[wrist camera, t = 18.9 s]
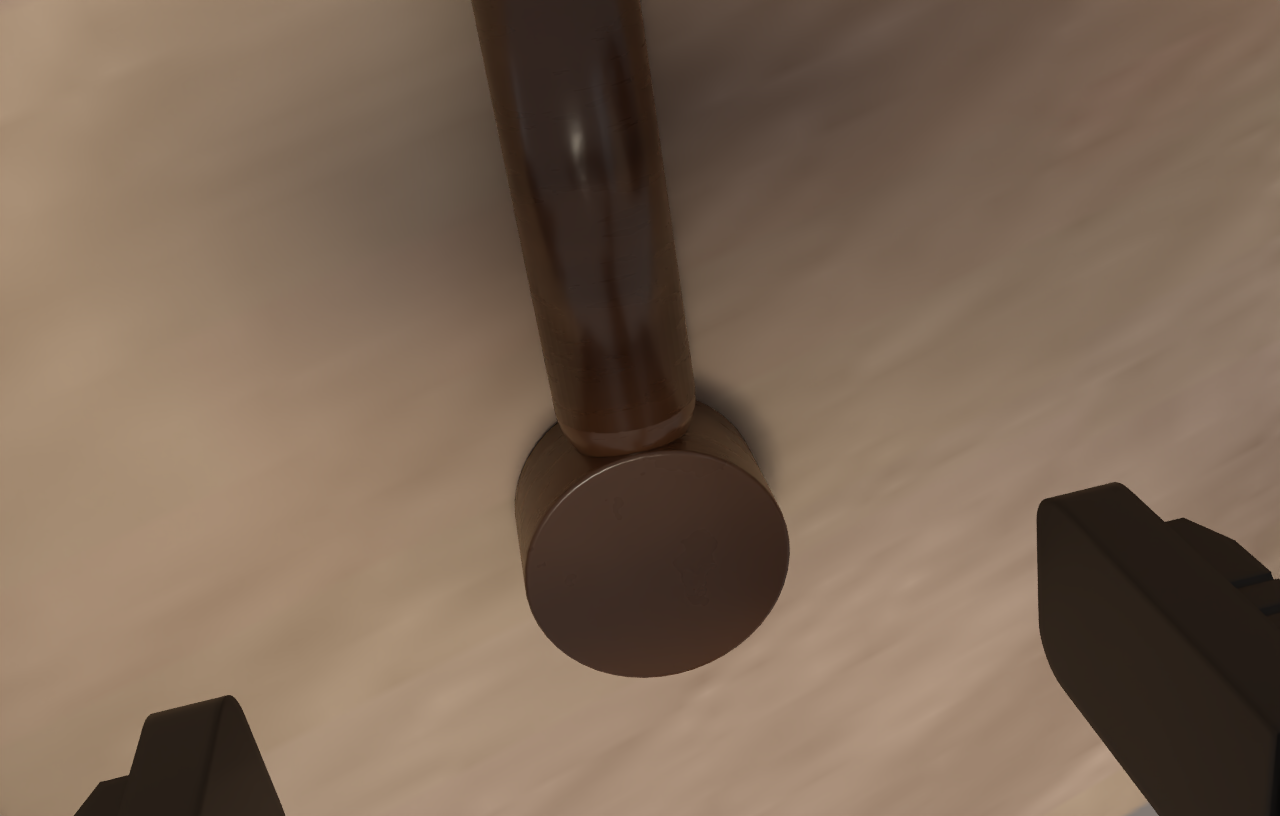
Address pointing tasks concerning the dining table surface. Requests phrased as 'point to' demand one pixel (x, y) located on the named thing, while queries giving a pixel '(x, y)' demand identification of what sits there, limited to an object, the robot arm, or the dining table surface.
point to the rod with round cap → (618, 364)
